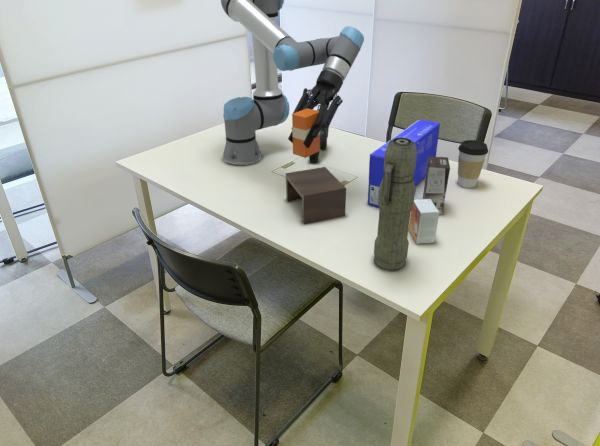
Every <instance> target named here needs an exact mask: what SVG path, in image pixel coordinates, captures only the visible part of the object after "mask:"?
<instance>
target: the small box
mask: <svg viewBox="0 0 600 446" xmlns="http://www.w3.org/2000/svg"><path fill="white" fill-rule="evenodd" d="M439 213H440V212H439V211H438V210H437V208H436V207H435V205H434V204H433V202H432V200H431V199H423V198H420V199H414V204H413V209H412V210H411V213H410V221H409V229H408V232H409V233H410V234H411V237H412V239H413V240H414V243H415V244H416V245H418V244H419V245H420V244H434V243H435V241H436V236H437V229H438V223H439V218H440V214H439Z"/></svg>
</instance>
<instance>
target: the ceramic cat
mask: <svg viewBox="0 0 600 446" xmlns="http://www.w3.org/2000/svg"><path fill="white" fill-rule="evenodd" d="M319 109H320V104H318V105H317V109H315V110H316V111H319ZM328 109H329V108H328ZM328 109H327V111H328ZM326 113H327V112H326ZM329 128H330V126H329V127H328V128H322V129H321V130H320V151H318V152H316V153H314V154H312V155H310V156H308V159H309V164H314V165H317V164H318V162H319V158H320V152H321V151H326V149H327V146H328V138H329Z"/></svg>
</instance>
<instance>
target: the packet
mask: <svg viewBox="0 0 600 446" xmlns="http://www.w3.org/2000/svg"><path fill="white" fill-rule="evenodd" d="M316 110H317V109H313V110H312V109H308V108H307V109H304V110H301V111H299V112H296V113H294V114H293V113H292V114H291V118H292V119H291V121H292V122H291V123H292V126H291V132H292V137H293V143H292V155H294V156H298V157H301V158H304V159H306V158H309V156H310V155H312V154H314V153H316V152H318V151H320V152H321V150H320V132H319V134H318V136H317V137H316V138H314V140H313V142H312V144H311V145H310V147H309V148H307V147H306V146H305V145H304V144H303V143H304V141H305V139H306V137H307V135H308V133H309V131H310V129H311V127H312V125H313V124H314V125H316V124H315V123H316V121H317V117H318V113H319V111H316Z"/></svg>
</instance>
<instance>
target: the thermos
mask: <svg viewBox="0 0 600 446" xmlns="http://www.w3.org/2000/svg"><path fill="white" fill-rule="evenodd" d="M391 139H392V138H391ZM391 139H389V141H390V142H389V144H388V146H387V148H386V151H385V158H384V174H383V180H382V182H381V184H380V187H379V199H378V205H379V208H378V209H379V211H378V224H377V235H376V237H375V239H374V245H373V263H374V265H375V266H376V267H377V268H379V269H380V270H383V271H385V272H398V271H401V270H403V269H404V268H405V267H406V263H407V258H408V254H409V253H408V252H409V245H410V242H409V238H408V237H409V222H410V215H411V210H412V209H413V204H414V200H415V195H416V186H415V184H414V174H415V167H416V159H417V150H416V146H415V143H414V141H412V140H410V139H408V138H395V139H392V140H391Z"/></svg>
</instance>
